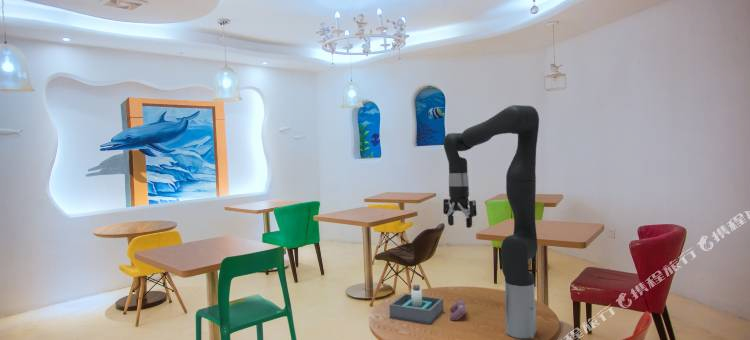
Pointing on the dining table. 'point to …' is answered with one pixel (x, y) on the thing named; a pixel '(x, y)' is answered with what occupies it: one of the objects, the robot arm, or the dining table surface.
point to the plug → (416, 296)
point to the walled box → (416, 309)
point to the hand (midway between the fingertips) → (460, 226)
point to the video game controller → (458, 310)
